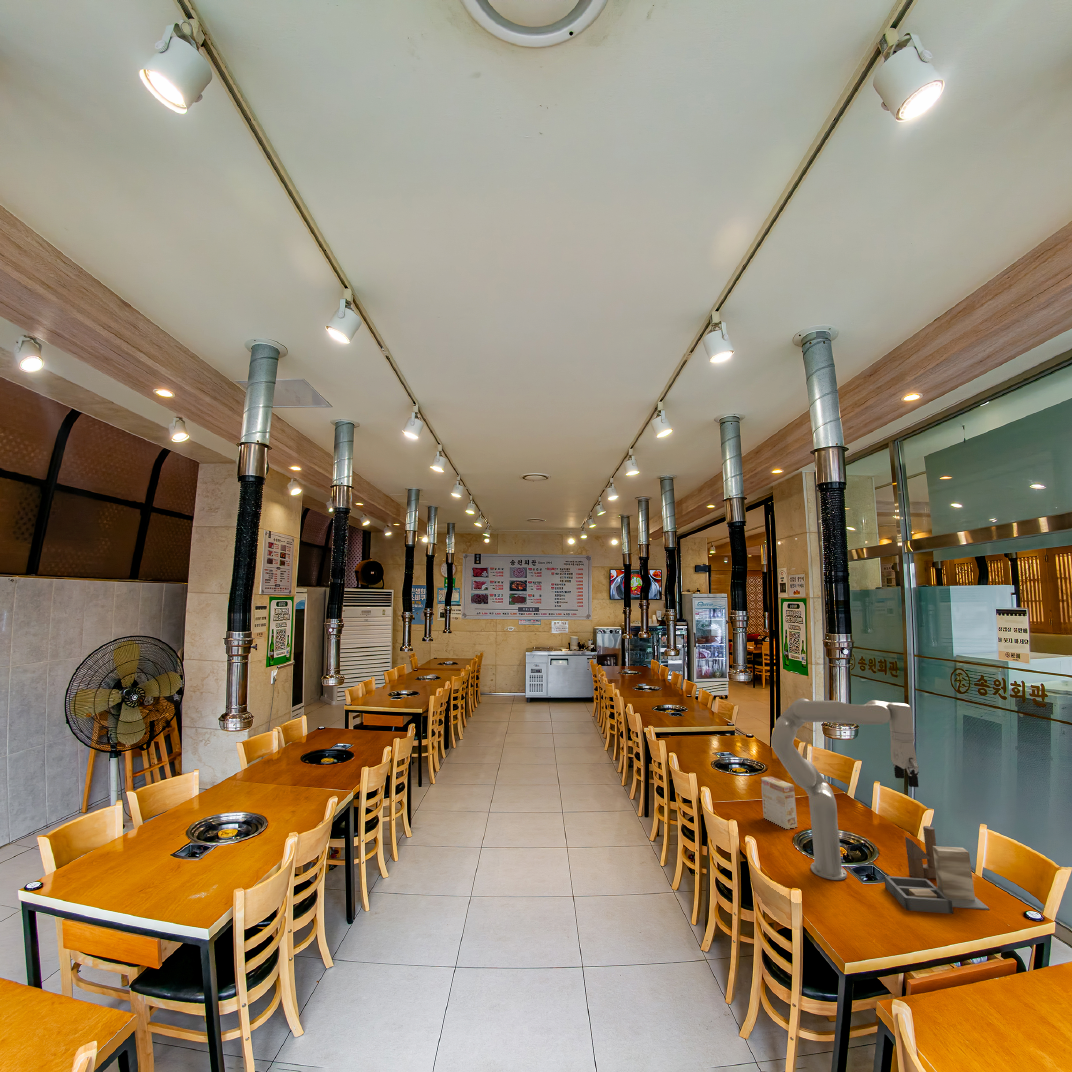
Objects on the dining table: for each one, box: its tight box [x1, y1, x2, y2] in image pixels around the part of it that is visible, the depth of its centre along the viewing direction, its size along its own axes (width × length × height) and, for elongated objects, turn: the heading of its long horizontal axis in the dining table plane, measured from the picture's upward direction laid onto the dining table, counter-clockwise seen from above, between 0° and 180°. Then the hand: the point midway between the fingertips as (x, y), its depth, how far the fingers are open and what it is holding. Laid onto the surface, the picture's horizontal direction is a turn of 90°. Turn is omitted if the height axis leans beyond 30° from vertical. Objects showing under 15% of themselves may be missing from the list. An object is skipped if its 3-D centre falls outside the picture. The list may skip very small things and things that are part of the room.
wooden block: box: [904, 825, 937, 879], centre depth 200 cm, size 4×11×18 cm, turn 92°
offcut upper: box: [909, 889, 937, 898], centre depth 180 cm, size 4×7×2 cm, turn 86°
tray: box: [883, 875, 954, 915], centre depth 183 cm, size 15×15×4 cm
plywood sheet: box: [933, 845, 976, 900], centre depth 185 cm, size 4×10×16 cm, turn 80°
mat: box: [949, 896, 990, 911], centre depth 184 cm, size 12×13×1 cm
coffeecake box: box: [760, 776, 798, 830], centre depth 251 cm, size 15×7×20 cm, turn 19°
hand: (906, 782), depth 195 cm, fingers open, 9 cm apart
